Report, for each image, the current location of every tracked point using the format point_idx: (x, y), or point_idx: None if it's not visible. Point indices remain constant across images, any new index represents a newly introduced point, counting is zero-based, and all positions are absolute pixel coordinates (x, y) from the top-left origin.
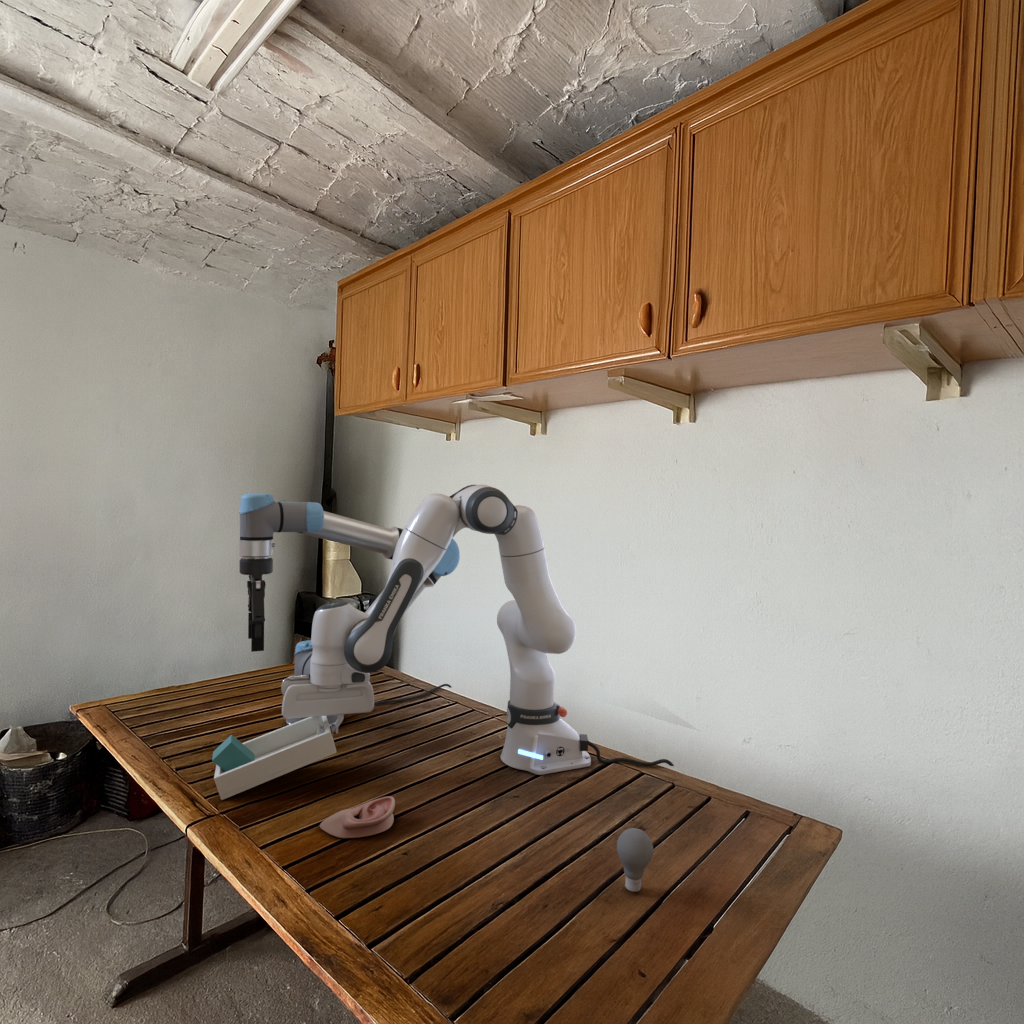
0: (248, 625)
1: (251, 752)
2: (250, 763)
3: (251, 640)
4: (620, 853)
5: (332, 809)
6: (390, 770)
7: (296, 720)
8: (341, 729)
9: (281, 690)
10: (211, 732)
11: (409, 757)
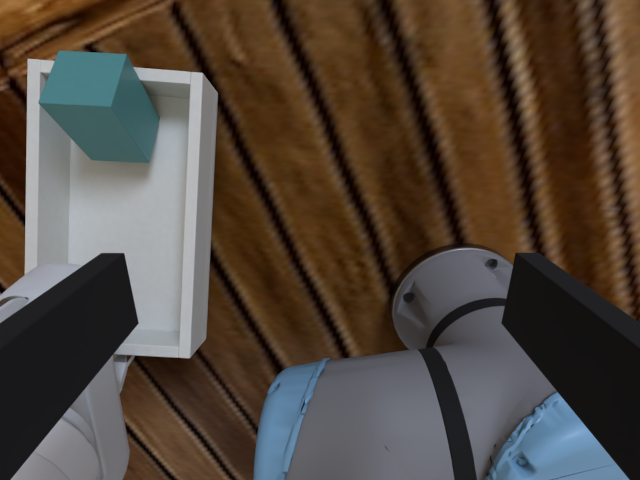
0: (586, 307)
1: (137, 156)
2: (27, 150)
3: (62, 290)
4: None
5: (15, 274)
6: (160, 379)
7: (424, 271)
8: (388, 342)
9: (2, 300)
10: (504, 60)
11: (208, 414)
